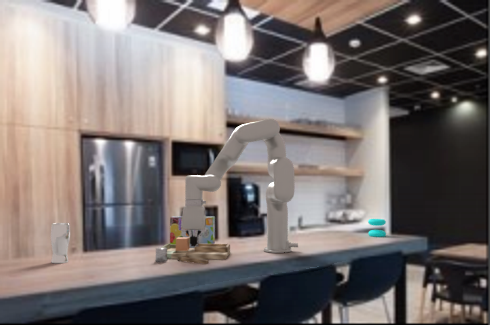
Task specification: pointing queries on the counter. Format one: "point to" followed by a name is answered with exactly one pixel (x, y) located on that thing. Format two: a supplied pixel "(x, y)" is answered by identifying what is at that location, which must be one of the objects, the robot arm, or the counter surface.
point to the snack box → (202, 238)
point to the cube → (182, 243)
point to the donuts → (377, 223)
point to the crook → (193, 260)
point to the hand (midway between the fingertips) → (193, 245)
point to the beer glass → (60, 242)
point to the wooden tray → (199, 251)
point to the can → (161, 254)
